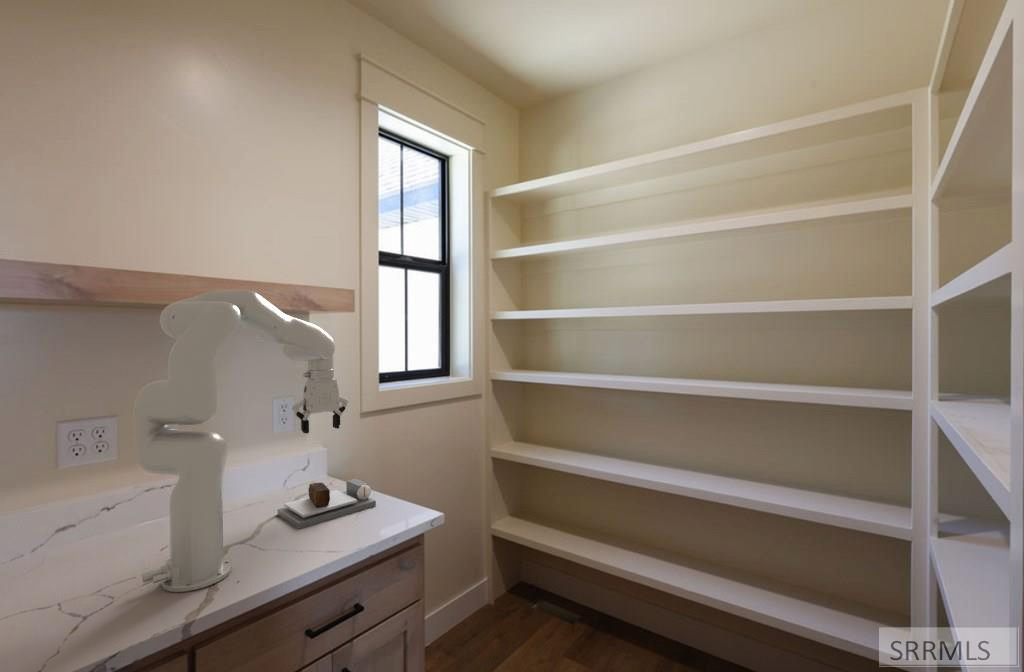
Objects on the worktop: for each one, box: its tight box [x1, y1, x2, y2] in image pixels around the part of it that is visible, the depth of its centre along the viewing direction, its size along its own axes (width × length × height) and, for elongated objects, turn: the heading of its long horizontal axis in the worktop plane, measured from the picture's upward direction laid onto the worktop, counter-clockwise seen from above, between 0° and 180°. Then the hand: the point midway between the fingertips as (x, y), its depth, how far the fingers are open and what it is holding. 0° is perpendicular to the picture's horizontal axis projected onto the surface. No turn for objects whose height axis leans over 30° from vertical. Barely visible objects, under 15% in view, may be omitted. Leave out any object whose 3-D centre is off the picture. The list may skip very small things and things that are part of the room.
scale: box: [277, 478, 377, 530], centre depth 141 cm, size 23×15×6 cm, turn 137°
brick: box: [308, 482, 331, 508], centre depth 139 cm, size 11×4×5 cm, turn 34°
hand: (321, 430), depth 148 cm, fingers open, 9 cm apart
